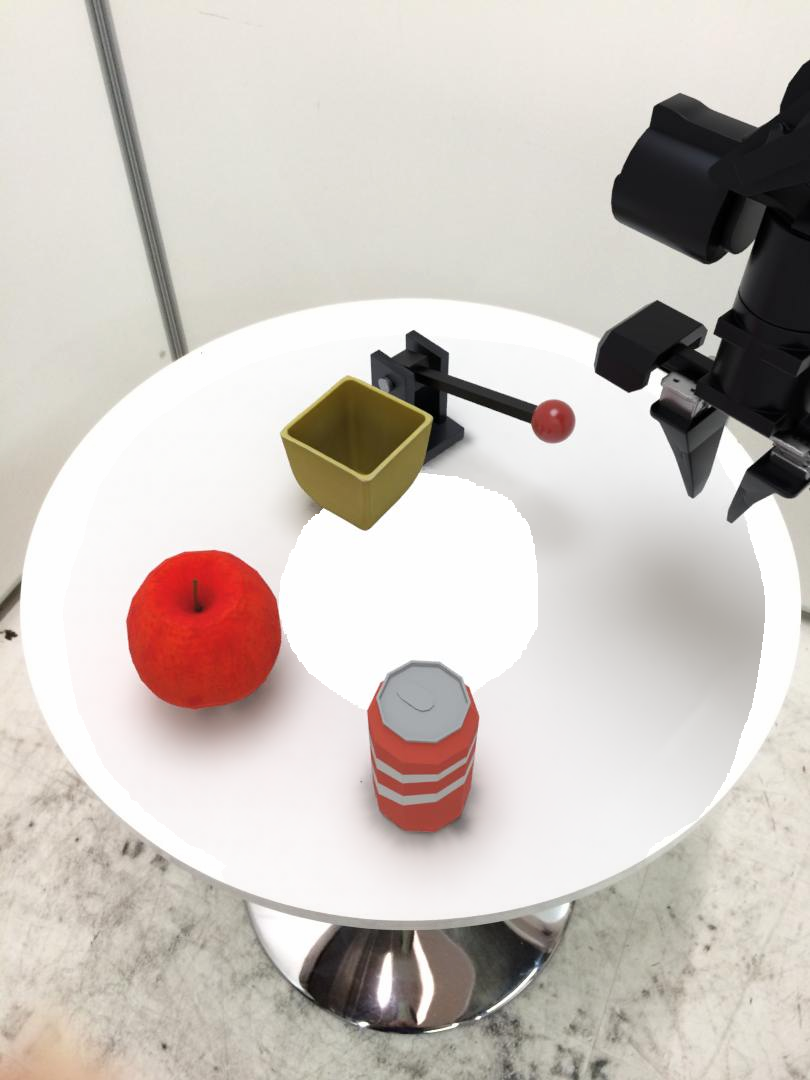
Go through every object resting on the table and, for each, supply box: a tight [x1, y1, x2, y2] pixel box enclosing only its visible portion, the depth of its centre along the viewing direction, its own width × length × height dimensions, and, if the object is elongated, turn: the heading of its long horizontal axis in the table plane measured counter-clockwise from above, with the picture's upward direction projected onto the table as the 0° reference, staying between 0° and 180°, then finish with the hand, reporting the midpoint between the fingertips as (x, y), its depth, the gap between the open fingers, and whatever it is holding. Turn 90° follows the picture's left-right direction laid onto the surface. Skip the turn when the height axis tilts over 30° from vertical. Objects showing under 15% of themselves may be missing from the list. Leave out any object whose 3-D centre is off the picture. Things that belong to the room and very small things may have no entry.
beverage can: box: [366, 659, 480, 833], centre depth 53 cm, size 6×6×12 cm
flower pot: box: [279, 374, 433, 532], centre depth 70 cm, size 9×9×9 cm
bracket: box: [369, 329, 465, 465], centre depth 76 cm, size 8×6×9 cm
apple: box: [125, 549, 282, 711], centre depth 58 cm, size 10×10×12 cm
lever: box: [390, 348, 577, 444], centre depth 69 cm, size 19×3×3 cm, turn 43°
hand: (713, 506), depth 56 cm, fingers open, 3 cm apart
